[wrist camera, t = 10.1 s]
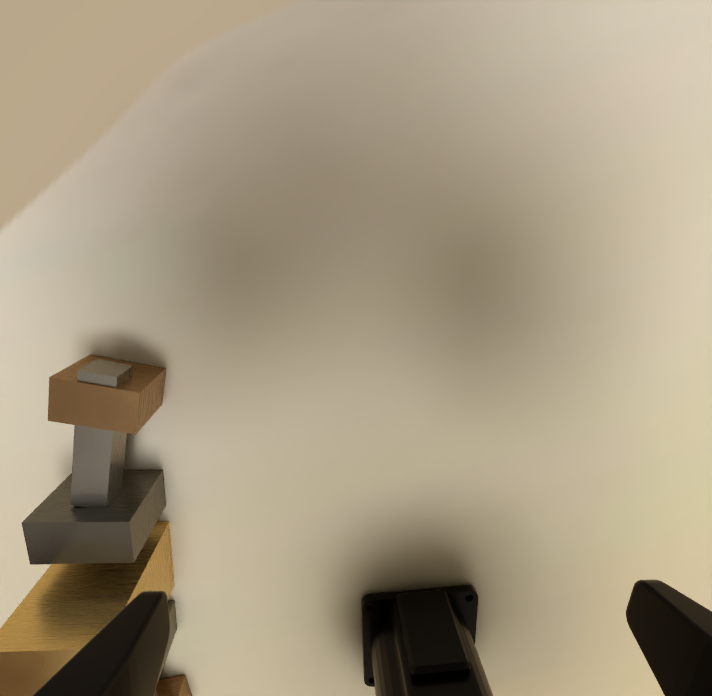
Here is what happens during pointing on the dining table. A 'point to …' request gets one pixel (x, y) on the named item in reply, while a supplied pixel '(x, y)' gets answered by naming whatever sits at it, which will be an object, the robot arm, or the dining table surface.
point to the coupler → (75, 611)
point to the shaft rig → (103, 475)
